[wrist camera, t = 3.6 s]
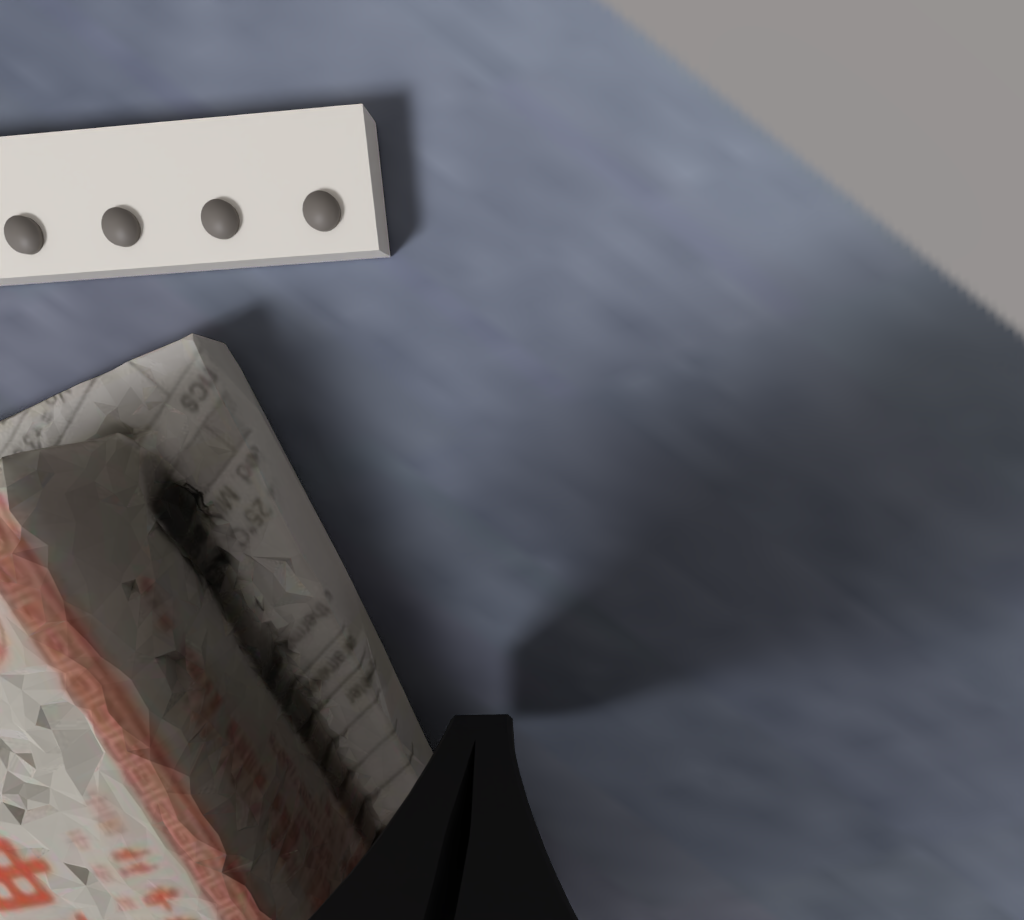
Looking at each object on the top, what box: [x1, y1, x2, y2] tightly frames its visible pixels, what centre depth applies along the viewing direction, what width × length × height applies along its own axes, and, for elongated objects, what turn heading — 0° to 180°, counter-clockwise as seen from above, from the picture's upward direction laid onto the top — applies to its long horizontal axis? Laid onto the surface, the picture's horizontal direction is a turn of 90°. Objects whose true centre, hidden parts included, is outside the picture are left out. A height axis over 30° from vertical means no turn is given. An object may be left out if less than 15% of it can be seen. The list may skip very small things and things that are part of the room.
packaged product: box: [0, 333, 433, 920], centre depth 11 cm, size 18×5×10 cm
